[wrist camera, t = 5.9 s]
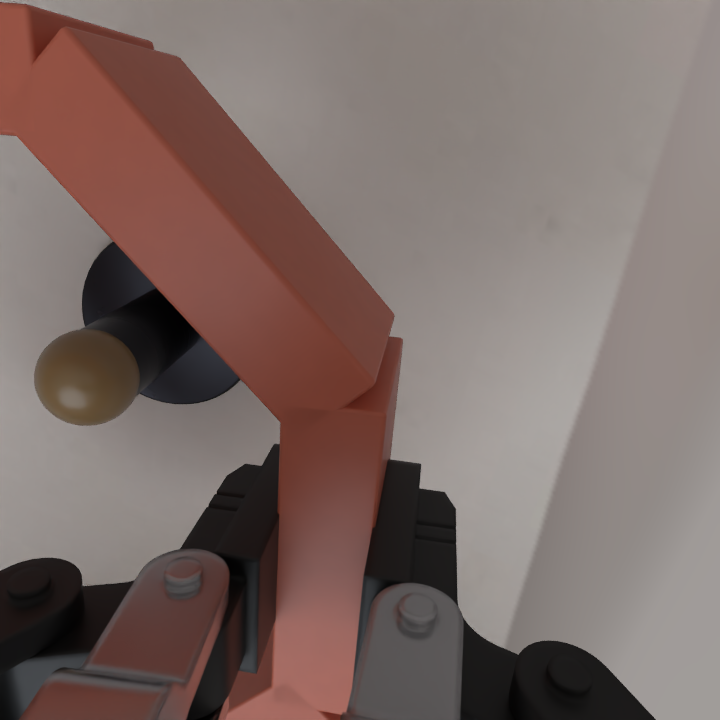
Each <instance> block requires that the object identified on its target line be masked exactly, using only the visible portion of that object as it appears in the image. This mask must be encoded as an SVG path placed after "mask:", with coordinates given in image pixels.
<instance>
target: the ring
mask: <svg viewBox="0 0 720 720" xmlns="http://www.w3.org/2000/svg"><path fill="white" fill-rule="evenodd" d="M0 135H10V136H17V137H18V138H19V139H20V140H21V141H22V142H23V144H24V145H25V146H26V147H27V148H28V149H29V150H30V151H31V152H32V153H33V154H34V155H35V157H36V158H37V159H38V160H39V161H40V162H41V163H42V164H43V165H44V166H45V167H46V168H47V170H48V171H49V172H50V173H51V174H52V175H53V176H54V177H55V178H56V179H57V180H58V181H59V183H60V184H61V185H62V186H63V187H64V188H65V189H66V190H67V191H68V192H69V193H70V194H71V196H72V197H73V198H74V199H75V200H76V201H77V202H78V203H79V204H80V205H81V206H82V208H83V209H84V210H85V211H86V212H87V213H88V214H89V215H90V216H91V217H92V218H93V219H94V221H95V222H96V223H97V224H98V225H99V226H100V227H101V228H102V229H103V230H104V231H105V232H106V234H107V235H108V236H109V237H110V238H111V239H112V240H113V241H114V242H115V243H116V244H117V245H118V247H119V248H120V249H121V250H122V251H123V252H124V253H125V254H126V255H127V256H128V257H129V258H130V260H131V261H132V262H133V263H134V264H135V265H136V266H137V267H138V268H139V269H140V270H141V271H142V273H143V274H144V275H145V276H146V277H147V278H148V279H149V280H150V281H151V282H152V283H153V285H154V286H155V287H156V288H157V289H158V290H159V291H160V292H161V293H162V294H163V295H164V296H165V298H166V299H167V300H168V301H169V302H170V303H171V304H172V305H173V306H174V307H175V308H176V309H177V311H178V312H179V313H180V314H181V315H182V316H183V317H184V318H185V319H186V320H187V321H188V322H189V324H190V325H191V326H192V327H193V328H194V329H195V330H196V331H197V332H198V333H199V334H200V335H201V337H202V338H203V339H204V340H205V341H206V342H207V343H208V344H209V345H210V346H211V347H212V349H213V350H214V351H215V352H216V353H217V354H218V355H219V356H220V357H221V358H222V359H223V360H224V362H225V363H226V364H227V365H228V366H229V367H230V368H231V369H232V370H233V371H234V372H235V373H236V375H237V376H238V377H239V378H240V379H241V380H242V381H243V382H244V383H245V384H246V385H247V386H248V388H249V389H250V390H251V391H252V392H253V393H254V394H255V395H256V396H257V397H258V398H259V399H260V401H261V402H262V403H263V404H264V405H265V406H266V407H267V408H268V409H269V410H270V411H271V413H272V414H273V415H274V416H275V417H276V418H277V419H278V420H279V421H280V422H281V424H280V452H279V481H278V509H277V512H278V514H279V539H278V565H277V592H276V618H275V623H274V626H273V629H272V631H271V634H270V637H269V640H268V643H267V646H266V649H265V651H264V654H263V657H262V660H261V663H260V666H259V668H258V671H257V674H254V673H249V672H243V671H238V674H237V676H236V679H235V682H234V684H233V687H232V689H231V692H230V694H229V708H228V713H227V716H226V720H340V717H341V715H342V713H343V712H346V711H347V707H348V703H349V699H350V694H351V690H352V684H353V674H354V664H355V654H356V644H357V634H358V625H359V615H360V605H361V595H362V585H363V575H364V570H365V565H366V560H367V555H368V549H369V544H370V539H371V534H372V528H374V527H375V526H376V520H377V515H378V510H379V504H380V499H381V493H382V488H383V482H384V477H385V472H386V466H387V461H388V459H390V456H391V447H392V437H393V428H394V419H395V410H396V401H397V392H398V383H399V374H400V365H401V355H402V346H403V339H402V338H398V337H389V334H390V331H391V327H392V324H393V320H394V317H395V316H394V313H393V312H392V311H391V309H390V308H389V307H388V306H387V305H386V304H385V302H384V301H383V300H382V299H381V298H380V296H379V295H378V294H377V293H376V292H375V290H374V289H373V288H372V287H371V286H370V284H369V283H368V282H367V281H366V280H365V278H364V277H363V276H362V275H361V274H360V272H359V271H358V270H357V269H356V268H355V266H354V265H353V264H352V263H351V262H350V260H349V259H348V258H347V257H346V256H345V254H344V253H343V252H342V251H341V250H340V249H339V247H338V246H337V245H336V244H335V243H334V241H333V240H332V239H331V238H330V237H329V235H328V234H327V233H326V232H325V231H324V229H323V228H322V227H321V226H320V225H319V223H318V222H317V221H316V220H315V219H314V217H313V216H312V215H311V214H310V213H309V211H308V210H307V209H306V208H305V207H304V205H303V204H302V203H301V202H300V201H299V200H298V198H297V197H296V196H295V195H294V194H293V192H292V191H291V190H290V189H289V188H288V186H287V185H286V184H285V183H284V182H283V180H282V179H281V178H280V177H279V176H278V174H277V173H276V172H275V171H274V170H273V168H272V167H271V166H270V165H269V164H268V162H267V161H266V160H265V159H264V158H263V156H262V155H261V154H260V153H259V152H258V151H257V149H256V148H255V147H254V146H253V145H252V143H251V142H250V141H249V140H248V139H247V137H246V136H245V135H244V134H243V133H242V131H241V130H240V129H239V128H238V127H237V125H236V124H235V123H234V122H233V121H232V119H231V118H230V117H229V116H228V115H227V113H226V112H225V111H224V110H223V109H222V107H221V106H220V105H219V104H218V103H217V102H216V100H215V99H214V98H213V97H212V96H211V94H210V93H209V92H208V91H207V90H206V88H205V87H204V86H203V85H202V84H201V82H200V81H199V80H198V79H197V78H196V76H195V75H194V74H193V73H192V72H191V70H190V69H189V68H188V67H187V66H186V64H185V63H184V62H183V61H182V60H181V58H179V57H177V56H174V55H170V54H167V53H163V52H159V51H155V50H154V47H153V43H152V42H150V41H148V40H145V39H141V38H138V37H135V36H131V35H128V34H124V33H121V32H118V31H114V30H111V29H108V28H104V27H101V26H98V25H94V24H91V23H88V22H84V21H81V20H77V19H74V18H71V17H67V16H64V15H61V14H57V13H54V12H51V11H47V10H44V9H41V8H37V7H34V6H31V5H27V4H18V3H3V2H0Z"/></svg>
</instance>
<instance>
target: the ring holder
mask: <svg viewBox="0 0 720 720" xmlns="http://www.w3.org/2000/svg"><path fill="white" fill-rule="evenodd" d="M82 312H83V319H84V324H85V327H84V328H82V329H80V330H75V331H71V332H68V333H66V334H64V335H61V336H60V337H58V338H56V339H55V340H54V341H52V342H51V343H50V344H49V345H48V346H47V347H46V348H45V349H44V351H43V352H42V354H41V355H40V357H39V359H38V361H37V364H36V367H35V373H34V383H35V389H36V392H37V395H38V397H39V399H40V401H41V402H42V404H43V405H44V406H45V408H46V409H47V410H48V411H49V412H50V413H52V414H53V415H54V416H56V417H57V418H59V419H61V420H62V421H65V422H67V423H71V424H75V425H80V426H92V425H98V424H102V423H106V422H108V421H110V420H113V419H114V418H116V417H118V416H119V415H120V414H122V413H123V412H124V411H125V410H126V409H127V408H128V407H129V406H130V405H131V403H132V401H133V400H134V398H135V397H136V396H137V395H138V394H139V393H140V394H142V395H144V396H146V397H149V398H151V399H154V400H157V401H161V402H165V403H172V404H194V403H200V402H204V401H208V400H211V399H213V398H216V397H218V396H220V395H222V394H223V393H225V392H227V391H228V390H229V389H231V388H232V387H233V386H235V385H236V384H237V383H238V381H239V380H240V378H239V377H238V376H237V375H236V373H235V372H234V371H233V370H232V369H231V368H230V367H229V366H228V365H227V364H226V363H225V362H224V360H223V359H222V358H221V357H220V356H219V355H218V354H217V353H216V352H215V351H214V350H213V349H212V347H211V346H210V345H209V344H208V343H207V342H206V341H205V340H204V339H203V338H202V337H201V335H200V334H199V333H198V332H197V331H196V330H195V329H194V328H193V327H192V326H191V325H190V324H189V322H188V321H187V320H186V319H185V318H184V317H183V316H182V315H181V314H180V313H179V312H178V311H177V309H176V308H175V307H174V306H173V305H172V304H171V303H170V302H169V301H168V300H167V299H166V298H165V296H164V295H163V294H162V293H161V292H160V291H159V290H158V289H157V288H156V287H155V286H154V285H153V283H152V282H151V281H150V280H149V279H148V278H147V277H146V276H145V275H144V274H143V273H142V271H141V270H140V269H139V268H138V267H137V266H136V265H135V264H134V263H133V262H132V261H131V260H130V258H129V257H128V256H127V255H126V254H125V253H124V252H123V251H122V250H121V249H120V248H119V247H118V245H117V244H116V243H115V242H112V243H111V244H109V245H108V246H107V247H106V248H105V249H104V250H103V251H102V252H101V253H100V254H99V255H98V257H97V258H96V259H95V261H94V262H93V264H92V266H91V268H90V270H89V272H88V275H87V278H86V280H85V284H84V289H83V296H82Z"/></svg>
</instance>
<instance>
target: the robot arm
mask: <svg viewBox="0 0 720 720" xmlns="http://www.w3.org/2000/svg"><path fill="white" fill-rule="evenodd" d="M279 452H280V444H274V445H273V447H272V448H271V450H270V452H269V454H268V456H267V457H266V459H265V461H264V463H263V465H262V466H257V465H250V464H244V465H243V466H241V467H240V468H238V469H237V470H235V471H234V472H232V473H230V474H229V475H227V476H226V478H225V480H224V481H223V483H222V484H221V486H220V487H219V489H218V490H217V494H215V495H214V497H213V498H212V500H211V501H210V503H209V506H208V507H207V508H206V509H205V511H204V512H203V514H202V515H201V517H200V519H199V520H198V522H197V523H196V525H195V526H194V528H193V530H192V531H191V533H190V534H189V536H188V537H187V539H186V540H185V542H184V544H183V545H182V547H181V548H180V550H175V551H171V552H167V553H165V554H162V555H160V556H158V557H156V558H154V559H153V560H152V561H150V562H149V563H148V564H147V565H146V566H145V567H144V568H143V569H142V570H141V572H140V573H139V575H138V576H137V578H136V579H135V581H131V582H126V583H117V584H105V585H93V586H83V585H82V575H81V573H80V570H79V569H78V568H77V567H76V566H75V565H74V564H72V563H70V562H68V561H66V560H62V559H57V558H39V559H32V560H27V561H24V562H20V563H17V564H15V565H12V566H10V567H7V568H5V569H3V570H1V571H0V720H226V716H227V713H228V708H229V694H230V692H231V689H232V687H233V684H234V682H235V679H236V676H237V674H238V671H243V672H249V673H254V674H257V671H258V668H259V666H260V663H261V660H262V657H263V654H264V651H265V649H266V646H267V643H268V640H269V637H270V634H271V631H272V629H273V626H274V623H275V618H276V592H277V565H278V539H279V514H278V512H277V509H278V481H279ZM420 472H421V464H419V463H411V462H404V461H397V460H390V459H388V461H387V466H386V472H385V477H384V482H383V488H382V493H381V499H380V504H379V510H378V515H377V520H376V526H375V527H374V528H372V534H371V539H370V544H369V549H368V555H367V560H366V565H365V570H364V575H363V585H362V595H361V605H360V615H359V625H358V634H357V644H356V654H355V664H354V674H353V684H352V690H351V694H350V699H349V703H348V707H347V711H346V712H343V713H342V715H341V717H340V720H656V719H654V717H653V716H652V715H651V714H650V713H649V712H648V711H647V710H646V709H645V708H644V707H643V706H642V704H640V702H639V701H638V700H637V699H636V698H635V697H634V696H633V695H632V694H631V693H630V692H629V691H628V690H627V688H626V687H625V686H624V685H623V684H622V683H621V682H620V681H619V680H618V679H617V678H616V677H615V676H614V675H613V673H612V672H611V671H610V670H609V669H608V668H607V667H606V666H605V665H604V664H603V663H602V662H600V661H599V660H598V659H597V658H595V657H594V656H593V655H591V654H589V653H588V652H586V651H585V650H583V649H581V648H578V647H576V646H574V645H570V644H568V643H563V642H558V641H540V642H536V643H533V644H531V645H528V646H527V647H526V648H524V649H523V650H522V651H521V652H520V654H519V655H517V654H515V653H513V652H511V651H508V650H506V649H504V648H501V647H499V646H497V645H495V644H493V643H491V642H489V641H487V640H486V639H484V638H483V637H481V636H480V635H479V634H477V633H476V632H475V631H474V630H473V629H472V628H471V627H470V626H469V625H468V624H467V622H466V621H465V620H464V618H463V616H462V613H461V611H460V609H459V607H458V601H457V557H456V509H455V507H454V506H453V504H452V503H451V501H450V500H449V498H448V497H447V495H446V494H445V492H440V491H433V490H426V489H419V484H420Z"/></svg>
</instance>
